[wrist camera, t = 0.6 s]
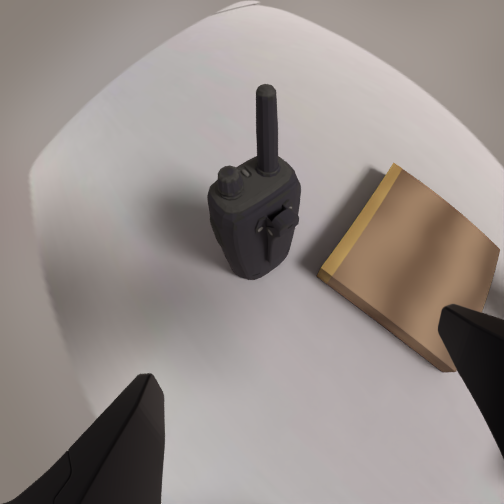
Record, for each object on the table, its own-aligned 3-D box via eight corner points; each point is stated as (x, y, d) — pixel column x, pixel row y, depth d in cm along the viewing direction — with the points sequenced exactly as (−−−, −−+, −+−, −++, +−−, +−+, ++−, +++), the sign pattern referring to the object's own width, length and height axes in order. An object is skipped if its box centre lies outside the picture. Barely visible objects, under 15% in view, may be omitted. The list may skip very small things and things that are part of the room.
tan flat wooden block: (489, 257, 21) (500, 249, 20) (442, 372, 18) (456, 371, 16) (387, 175, 25) (393, 162, 23) (316, 276, 22) (320, 267, 20)
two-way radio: (274, 221, 24) (275, 60, 10) (309, 260, 23) (357, 111, 9) (219, 260, 23) (158, 114, 9) (253, 303, 22) (225, 187, 8)
